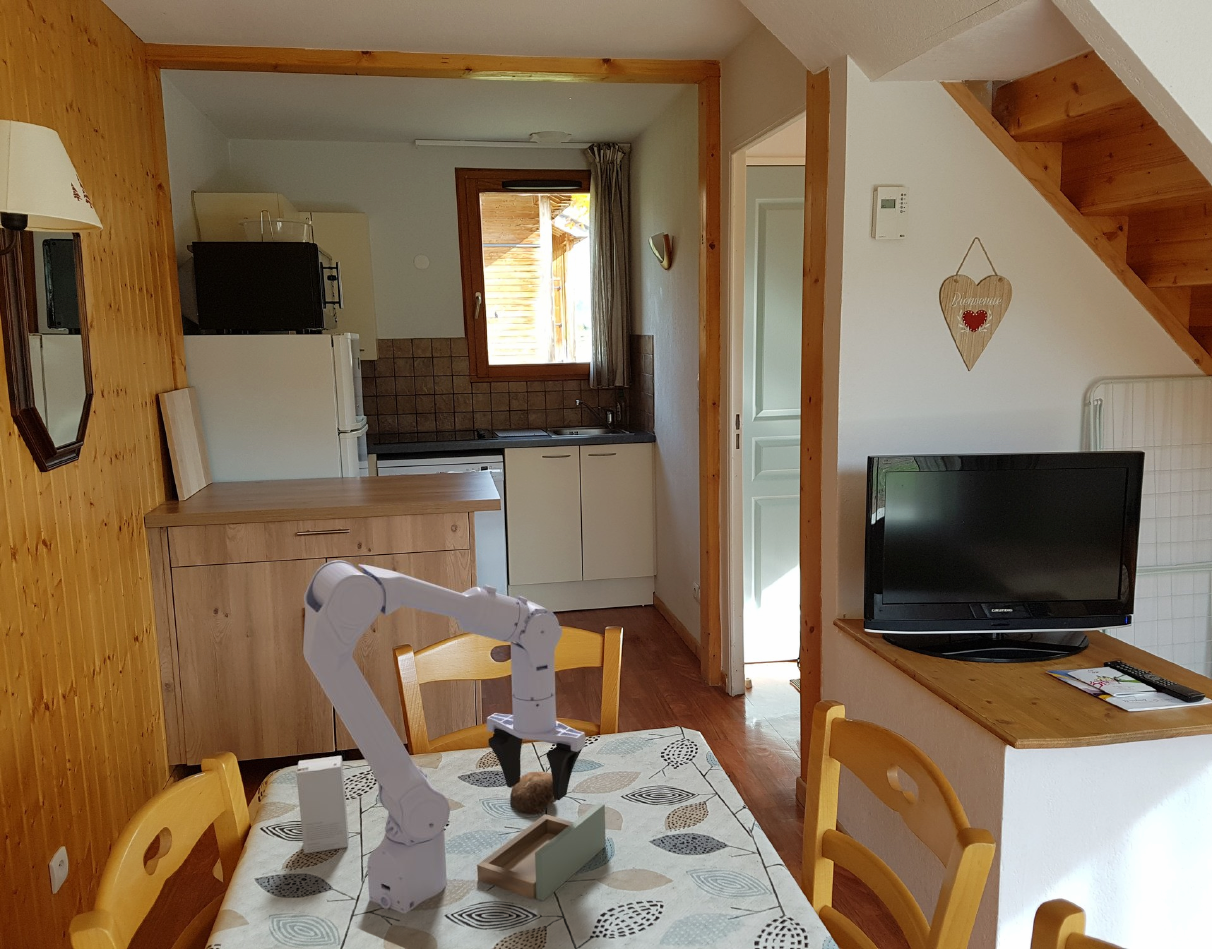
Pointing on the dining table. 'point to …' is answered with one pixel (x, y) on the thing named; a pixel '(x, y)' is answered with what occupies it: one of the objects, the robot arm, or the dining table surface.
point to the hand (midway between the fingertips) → (536, 790)
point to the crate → (520, 857)
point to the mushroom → (532, 793)
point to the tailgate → (569, 851)
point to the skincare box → (322, 804)
